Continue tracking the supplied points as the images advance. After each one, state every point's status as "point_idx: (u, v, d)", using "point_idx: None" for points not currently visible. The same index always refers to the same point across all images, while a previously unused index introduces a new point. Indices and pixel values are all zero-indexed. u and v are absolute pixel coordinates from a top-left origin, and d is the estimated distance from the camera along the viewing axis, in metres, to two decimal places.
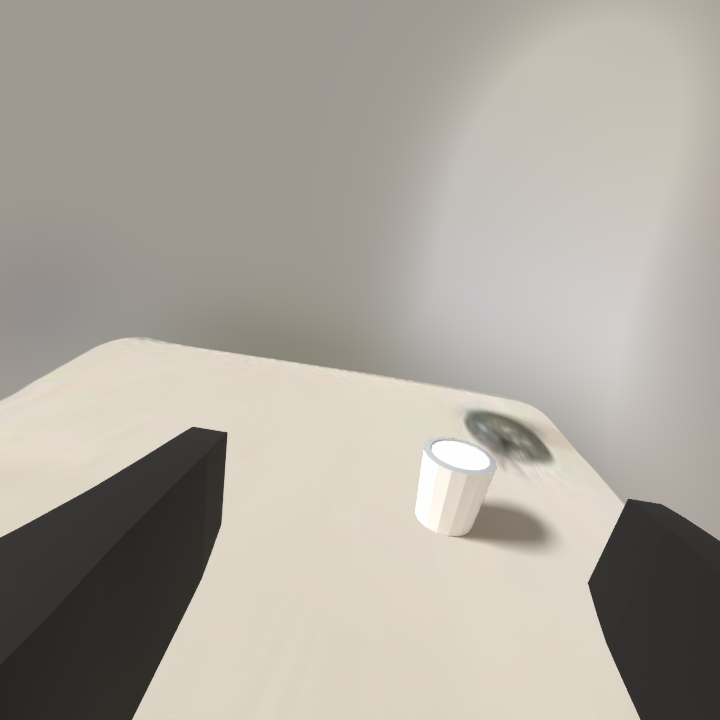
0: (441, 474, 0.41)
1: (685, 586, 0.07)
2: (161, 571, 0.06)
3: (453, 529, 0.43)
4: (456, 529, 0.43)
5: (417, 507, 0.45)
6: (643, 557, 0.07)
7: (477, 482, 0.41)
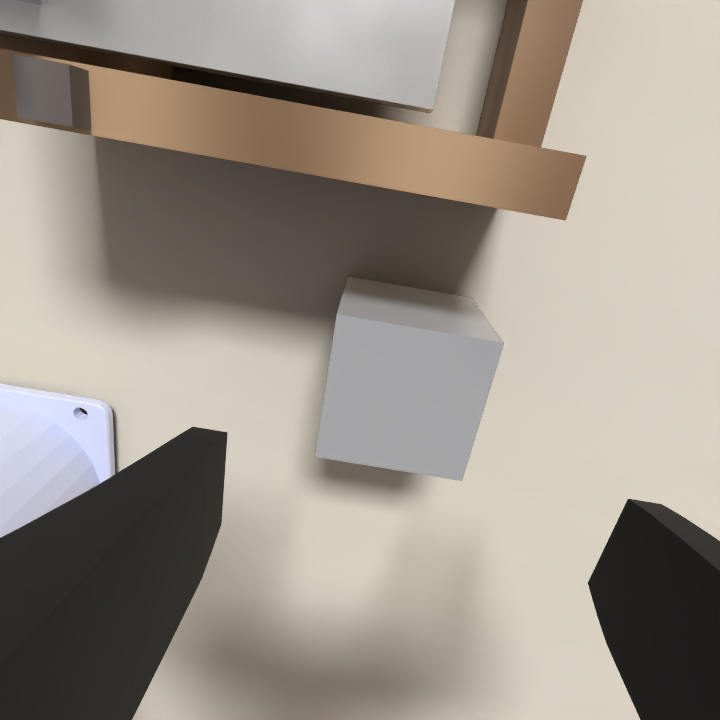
0: None
1: (685, 586, 0.07)
2: (161, 571, 0.06)
3: None
4: None
5: None
6: (643, 557, 0.07)
7: None
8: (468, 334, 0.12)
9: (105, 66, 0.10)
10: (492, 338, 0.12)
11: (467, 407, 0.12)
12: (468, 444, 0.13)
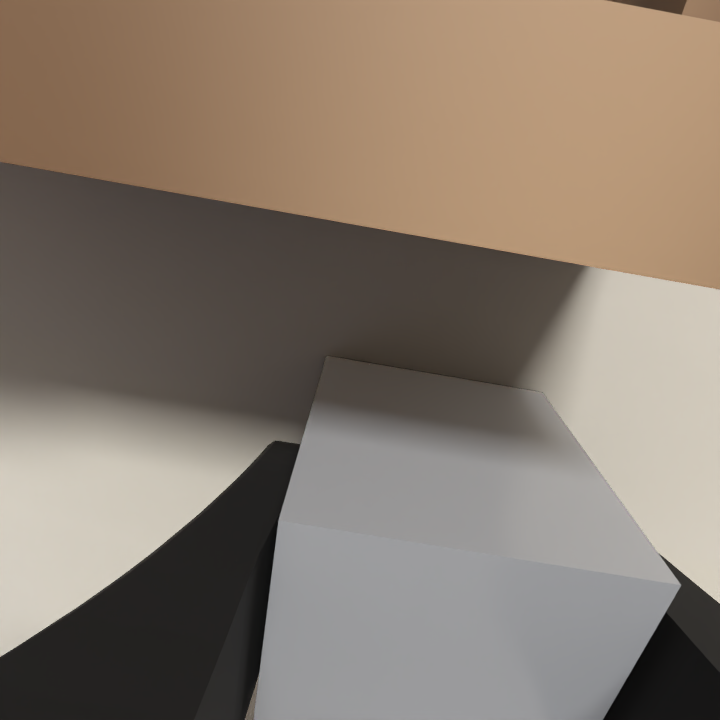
0: None
1: None
2: (269, 588, 0.06)
3: None
4: None
5: None
6: None
7: None
8: (590, 556, 0.05)
9: None
10: (647, 563, 0.05)
11: (577, 696, 0.06)
12: None
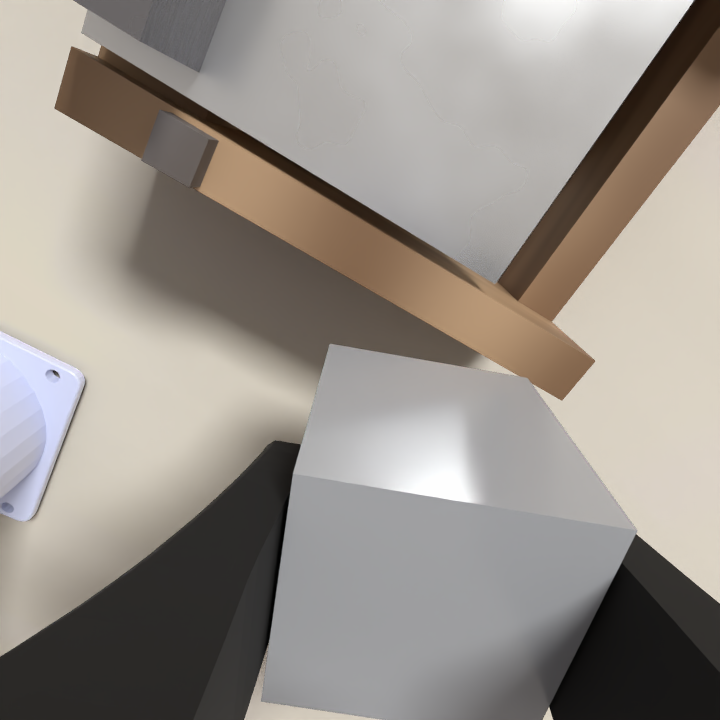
0: None
1: None
2: (268, 587, 0.06)
3: None
4: None
5: None
6: None
7: None
8: (562, 507, 0.06)
9: None
10: (609, 514, 0.06)
11: (551, 634, 0.06)
12: (548, 691, 0.07)
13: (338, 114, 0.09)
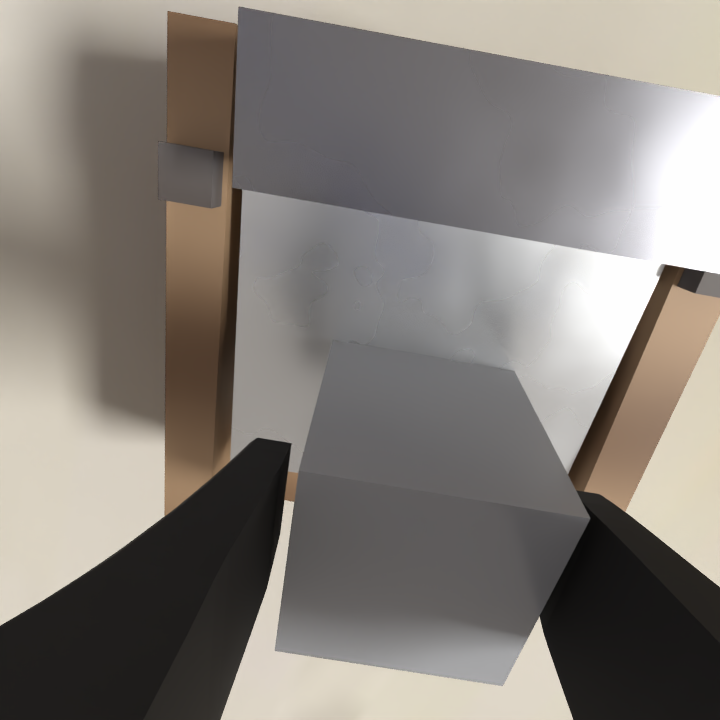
0: None
1: (609, 574, 0.07)
2: (245, 583, 0.06)
3: None
4: None
5: None
6: (576, 546, 0.07)
7: None
8: (527, 498, 0.07)
9: None
10: (569, 503, 0.07)
11: (518, 600, 0.08)
12: (516, 646, 0.08)
13: (291, 307, 0.10)
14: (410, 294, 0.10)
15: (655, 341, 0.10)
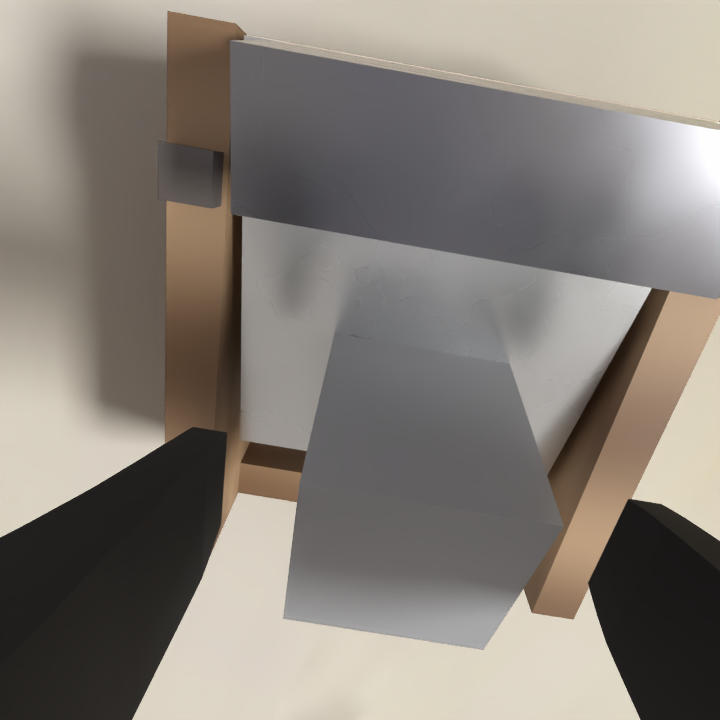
0: None
1: (685, 586, 0.07)
2: (161, 571, 0.06)
3: None
4: None
5: None
6: (643, 557, 0.07)
7: None
8: (507, 506, 0.07)
9: None
10: (546, 511, 0.08)
11: (498, 587, 0.08)
12: (495, 621, 0.09)
13: (294, 303, 0.11)
14: (409, 293, 0.10)
15: (655, 341, 0.10)
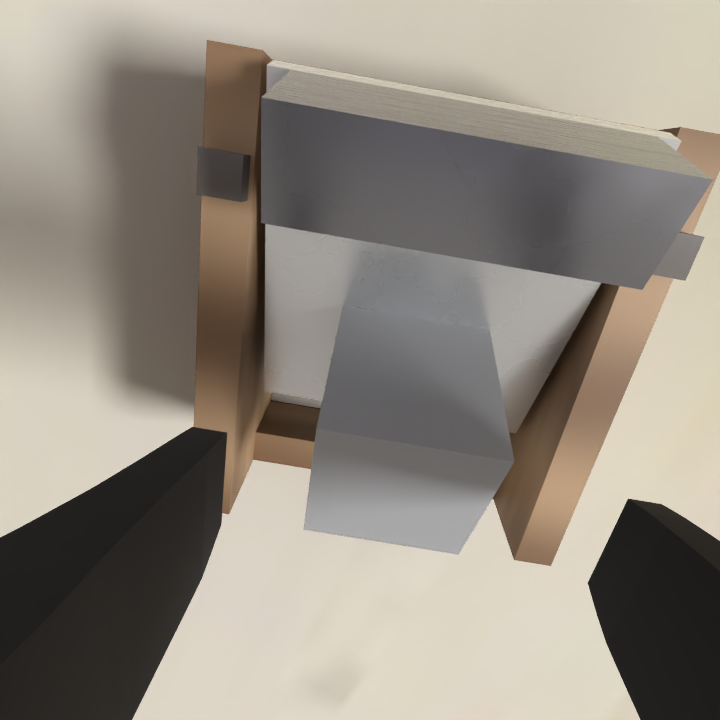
0: None
1: (685, 586, 0.07)
2: (161, 571, 0.06)
3: None
4: None
5: None
6: (643, 557, 0.07)
7: None
8: (473, 446, 0.10)
9: None
10: (502, 450, 0.10)
11: (467, 506, 0.11)
12: (466, 532, 0.12)
13: (308, 281, 0.13)
14: (405, 272, 0.12)
15: (614, 315, 0.12)
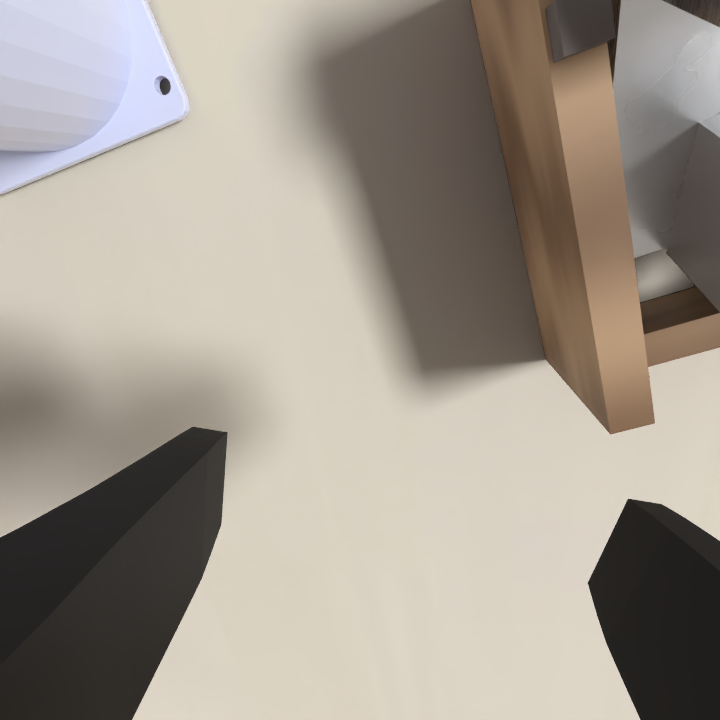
0: None
1: (685, 586, 0.07)
2: (161, 571, 0.06)
3: None
4: None
5: None
6: (643, 557, 0.07)
7: None
8: None
9: None
10: None
11: None
12: None
13: (660, 112, 0.11)
14: None
15: None
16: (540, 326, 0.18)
